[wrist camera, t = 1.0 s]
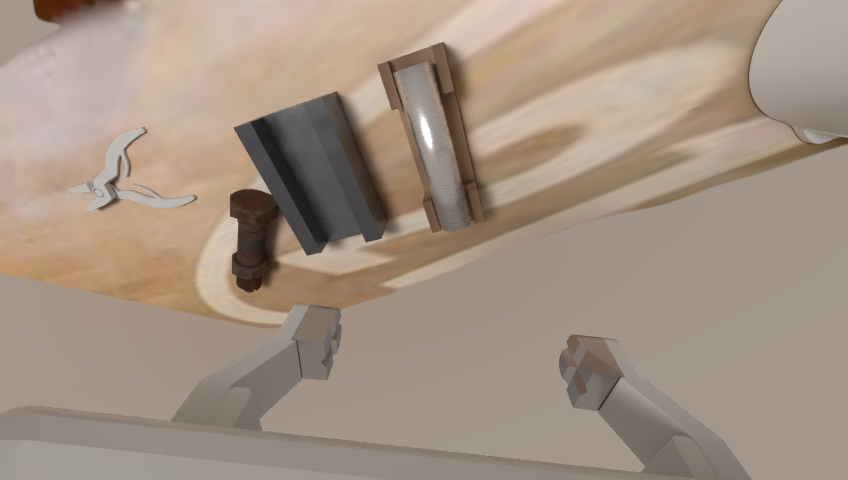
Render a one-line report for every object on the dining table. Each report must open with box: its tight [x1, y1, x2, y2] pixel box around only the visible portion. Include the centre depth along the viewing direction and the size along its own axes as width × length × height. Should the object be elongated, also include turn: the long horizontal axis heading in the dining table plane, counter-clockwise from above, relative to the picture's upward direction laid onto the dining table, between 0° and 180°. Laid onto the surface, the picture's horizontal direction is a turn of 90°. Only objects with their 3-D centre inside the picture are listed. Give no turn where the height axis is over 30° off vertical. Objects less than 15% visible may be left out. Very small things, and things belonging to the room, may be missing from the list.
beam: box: [377, 42, 484, 233], centre depth 35 cm, size 6×18×4 cm, turn 17°
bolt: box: [230, 189, 278, 293], centre depth 43 cm, size 6×5×15 cm
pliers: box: [69, 127, 197, 212], centre depth 42 cm, size 10×2×15 cm
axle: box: [393, 60, 471, 231], centre depth 32 cm, size 16×4×4 cm, turn 17°
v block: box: [234, 92, 388, 255], centre depth 37 cm, size 10×16×4 cm, turn 17°
